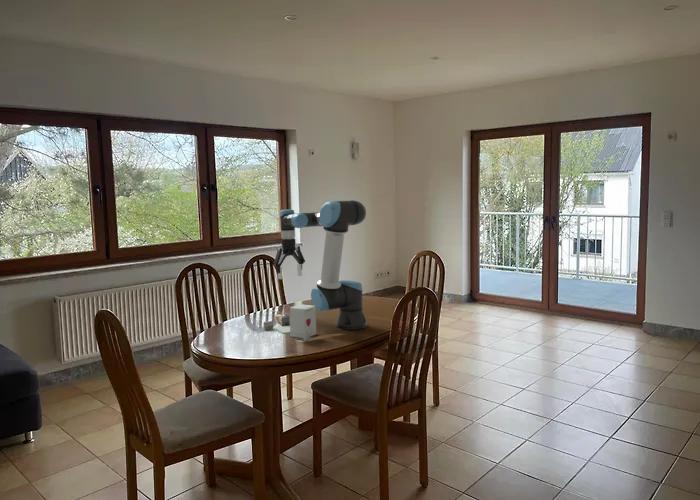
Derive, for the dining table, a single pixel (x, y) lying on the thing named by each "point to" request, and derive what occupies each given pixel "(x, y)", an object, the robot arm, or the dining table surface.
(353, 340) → the dining table surface
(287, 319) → the leg bar
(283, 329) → the seat pad
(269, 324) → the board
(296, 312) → the supplement box
